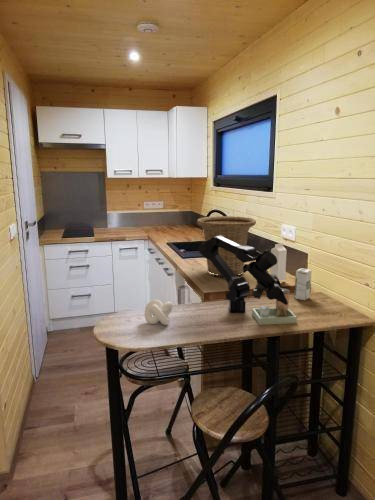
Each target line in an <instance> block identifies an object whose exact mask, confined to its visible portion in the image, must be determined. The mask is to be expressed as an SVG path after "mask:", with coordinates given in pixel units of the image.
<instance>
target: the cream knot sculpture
mask: <svg viewBox="0 0 375 500" xmlns="http://www.w3.org/2000/svg"><path fill="white" fill-rule="evenodd" d="M173 307H174V305H173V302H171V301H166V302H162V301H160V300H159V299H151V300H150V301H148V303H147V304H146V306H145V309H144V319H145V322H147V323H148V324H150V325H156V324H157V323H159V322H160V323H161V324H162V325H164V326H167V325H169V324H170V317H169V315H170V314H171V312H172V310H173Z"/></svg>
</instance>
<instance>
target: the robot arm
mask: <svg viewBox="0 0 375 500" xmlns="http://www.w3.org/2000/svg"><path fill="white" fill-rule="evenodd" d="M219 247H221V248H223V249H225V250H227V251H229V252H231V253H233V254H235V255H236V257H237V258H238V259H239V260H240V261H242V262H244V266H243V274H244V273H246V272H248V273H249V274H250V275H251V276H252V277H253V278H254V279H255V280H256V285H255V287H254V288H253V291H252V293H251V295H252V297H254V299H258V300H261V298H262V295H263V293H264V292H265V295H266V297H267V299H268V300H269V301H270V300H276V299H277V300H278V301H280V302H282V303H283V304H285V305H287V304H288V302H287V300H286V297H285V295H284V293H283V291H282V288H283V286H282V283H280V281H279V279H278V277H277V276H276V275H275V274H272V275H270V272H269V269H270V268H271V267H272V266H274V265H276V264H277V258H276V256H275V255H274V254H273V253H271V251H270V250H269V249H267V250H264V251H263V252H261V251H260V252H259V251H258V250H257V248H255V247H253V246H249V245H246V246H242V245H239V244H237V243H235V242H233V241H230V240H228V239H226V238H224V237H223V236H214V237H213V238H211V239H210V240H208V241H206V242H205V241H203V242H200V244H199V245H198V248H197V249H198V253H199V254H200V255H201V256H202V257H203V258H204V259H206V260H207V259H209V260H210V261H211V262H212V263H213V264H214V266H215V267H216V268H217V270H218V271H219V272H220V274H221V275H222V276H223V277H224V280H225V282H227V288H228V290H229V291H228V292H227V293H225V298H226V300H228V308H227V309H228V311H229V313H230V314H244V313H246V301H245V299H247V298H248V296H249V294H250V292H251V287H250V285H249V282H248V281H247V280H246V279H245V277H244V276H238V277H237V276H236V275H235V274H234V272H233V271H232V270H231V269H230V267H229V266H228V265H227V264H226V262H225V261H224V260H223V259H222V257H221V256H220V255H219V250H218V248H219ZM248 262H250V263H248ZM247 263H248V264H247ZM222 276H221V277H222ZM223 277H222V278H223ZM275 279H277V280H275Z"/></svg>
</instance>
